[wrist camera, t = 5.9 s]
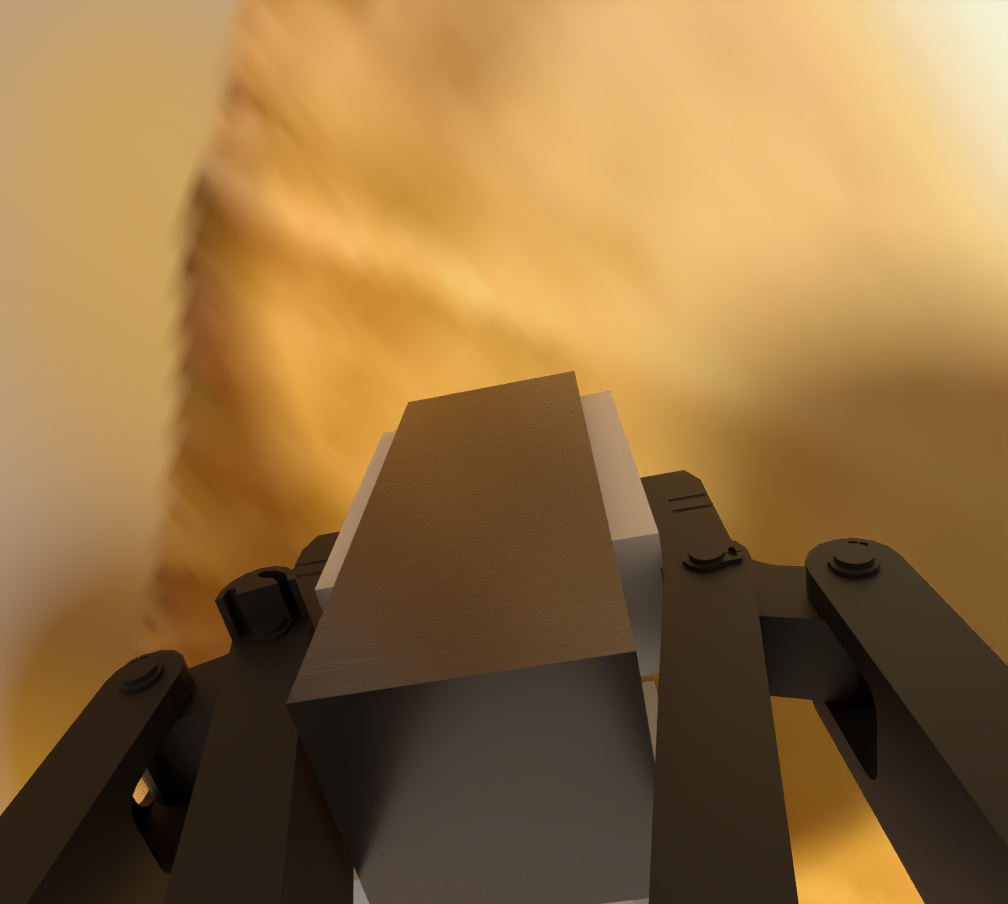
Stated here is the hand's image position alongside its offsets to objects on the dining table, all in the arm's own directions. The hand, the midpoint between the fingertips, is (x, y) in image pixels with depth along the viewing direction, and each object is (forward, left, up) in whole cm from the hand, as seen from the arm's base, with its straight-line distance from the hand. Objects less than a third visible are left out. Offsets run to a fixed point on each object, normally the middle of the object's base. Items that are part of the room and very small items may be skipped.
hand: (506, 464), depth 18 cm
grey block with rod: (+2, +7, 0) cm, 7 cm away
